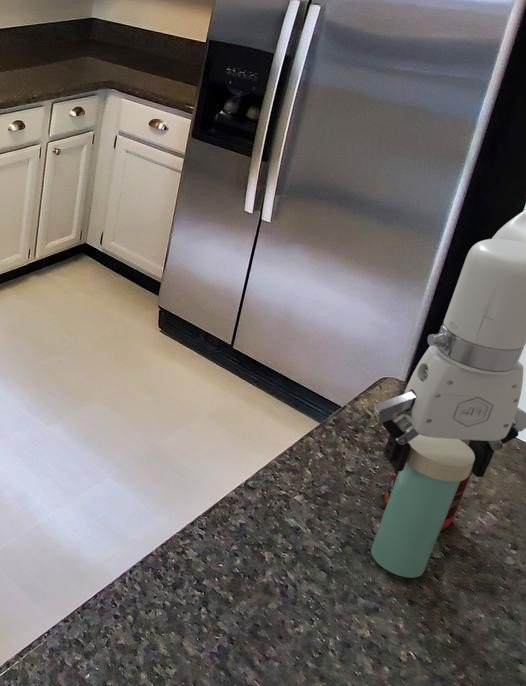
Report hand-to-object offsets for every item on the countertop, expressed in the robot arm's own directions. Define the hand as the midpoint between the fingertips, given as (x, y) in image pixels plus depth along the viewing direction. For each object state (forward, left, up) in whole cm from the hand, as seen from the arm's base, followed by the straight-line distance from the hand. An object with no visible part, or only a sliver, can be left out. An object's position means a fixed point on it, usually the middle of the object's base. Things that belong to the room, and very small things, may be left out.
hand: (432, 466), depth 97 cm
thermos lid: (0, 0, +2) cm, 2 cm away
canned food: (-7, -9, -16) cm, 19 cm away
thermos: (0, 0, -16) cm, 16 cm away
